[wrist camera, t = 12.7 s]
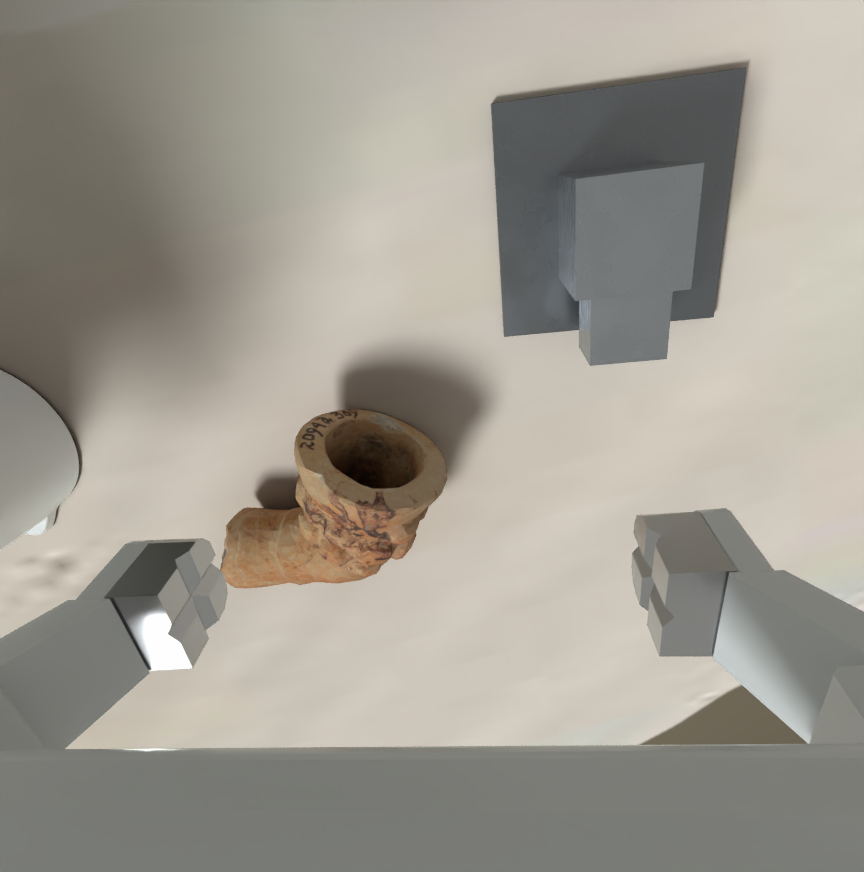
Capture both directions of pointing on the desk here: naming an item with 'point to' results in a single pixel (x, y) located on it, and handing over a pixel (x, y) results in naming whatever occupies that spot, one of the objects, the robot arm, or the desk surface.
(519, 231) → the duct plate
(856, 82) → the desk surface
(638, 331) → the stepped gray block
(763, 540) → the desk surface
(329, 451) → the clay pipe
